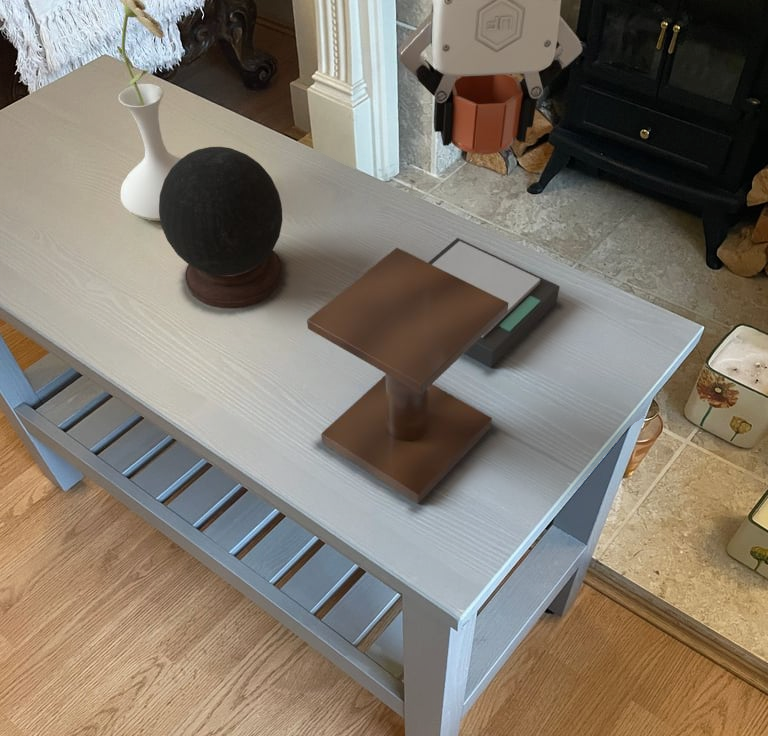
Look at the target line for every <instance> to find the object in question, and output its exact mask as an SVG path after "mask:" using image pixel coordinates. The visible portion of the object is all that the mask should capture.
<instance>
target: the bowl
mask: <svg viewBox="0 0 768 736" xmlns="http://www.w3.org/2000/svg"><path fill="white" fill-rule="evenodd" d="M451 96H452V100H453V104H454V109H453V124H452V139H451V144H452V145H453V146H454V147H456V148H457V149H459V150H461V151H463V152H465V153H466V152H467V153H468V154H469V153H470V154H474V155H492V154H498V153H501V152H503V151H506V150H507V149H509V148H510V147H511V146H512V145H513V144H514V142H515V139H516V137H517V133H518V126H519V118H520V111H521V103H522V96H523V91H522V88H521V85H520V79H519V78H518V77H517V76H515V75H513V74H506V75H484V76H458V78H457V80H456V82H455V84H454V86H453V88H452V91H451Z"/></svg>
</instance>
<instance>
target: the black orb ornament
mask: <svg viewBox="0 0 768 736" xmlns="http://www.w3.org/2000/svg"><path fill="white" fill-rule="evenodd" d="M181 158H182V159H181V160H179V161H178V162H177V163H176V164H175V165H174V166H173V167H172V168H171V170H170V171H169V173H168V175H167V176H166V178H165V180H164V183H163V186H162V189H161V192H160V198H159V216H160V222H159V223H160V225H161V228H162V231H163V234H164V236H165V238H166V241H167V242H168V244H169V245H170V246H171V248H172V249H173V251H174V252H175V253H176V255H177V256H178V257H179V258H181V259H182V260H183V261H184V262H185V263H187V266H186V269H185V275H184V276H185V282H186V286H187V289H188V291H189V292H190V294H191V295H192V296H193V297H194V298H195V299H196V300H197V301H199V302H201V303H203V304H205V305H208V306H210V307H215V308H221V309H236V308H237V309H238V308H244V307H248V306H251V305H254V304H256V303H259V302H261V301H263V300H264V299H266V298H268V297H269V296H270V295H271V294H273V293H274V292H275V291H276V290H277V288H279V286H280V284H281V281H282V278H283V267H282V261H281V259H280V256H278V254H277V253H276V251H274V249H275V246H276V244H277V242H278V241H279V238H280V237H281V230H282V225H283V205H282V201H281V197H280V193H279V190H278V189H277V186H276V184H275V183H274V180H273V178H272V176H271V175H270V174H269V173H268V171H267V170H266V169H265V168H264V167H263V166H262V165H261V164H260V163H259V162H258V161H256V160H255V159H254V158H253V157H251V156H250V155H248V154H246V153H244V152H242V151H239V150H237V149H234V148H231V147H227V146H208V147H204V148H198V149H195V150H193V151H191V152H189V153H187V154H186V155H184V156H183V157H181Z"/></svg>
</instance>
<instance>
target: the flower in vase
mask: <svg viewBox="0 0 768 736" xmlns="http://www.w3.org/2000/svg"><path fill="white" fill-rule="evenodd" d="M118 1H119V2H120V3H121V4H122V5H123V6H124V7H123V11H124V17H123V25H122V32H121V47H120V46H119V45H116V49H117V51H118V53H119V54H120V56H121V58H122V59H123V61H124V64H125V67H126V69H127V70H126V71H127V73H128V75H129V77H130V81H129V84H128V85H130V86H127V87H126V88H125V89H122V91H121V92H120V93H119V95H118V101H119V102H120V103H121V105H123V106H124V107H125V108H126V109H127V110H128V111H129V112H130V113H131V115H132V116H133V118H134V120H135V122H136V124H137V126H138V129H139V131H140V134H141V138H142V141H143V145H144V153H145V154H144V158H143V159H142V160H141V161H140V162H139V163H138V164H137V165H136V166H135V167H133V169H131V171H130V172H128V175H127V176H126V177H125V179H124V180H123V182H122V183H121V188H120V201H121V204H122V206H123V207H124V208H125V209H126V210H127V211H128V212H130V213H131V214H132V215H134V216H136V217H138V218H140V219H144V220H148V221H158V222H159V221H160V216H159V198H160V192H161V189H162V186H163V183H164V180H165V178H166V176H167V175H168V173H169V171H170V170H171V168H172V167H173V166H174V165H175V164H176V163H177V162H178V161H179V160H181V159H182V158H183V157H180V156H176V155H174V154H172V153H171V152H169V151H168V150H167V148H166V146H165V144H164V140H163V136H162V132H161V127H160V118H159V115H160V114H159V110H160V104H161V102H162V99H163V97H164V91H163V89H162V88H161V87H160V86H158V85H156V84H153V83H152V84H151V83H138V84H137V82H138V81H139V80H140V79H141V78H142V77H143V76H144V75H145V74H147V73H148V72H149V69H145V70H144V69H143V70H142V71H141V72H139V73H137V74H136V75H135V76H134V75H133V72H132V69H134V65H133V63H132V61H131V60H130V58H129V57H128V56H127V55H126V33H127V27H128V20H129V18H135V19H136V20H137V21H138V22H139V23H140V24H141V25H142V26H143V27H144V28H146V29H147V30H148V31H149V32H150V33H151V34H152V35H154V36H155V37H157V38H158V39H163V38H164V37H165V32H164V31H163V30H162V29H161V28H162V25H161V24H160V22H158V20H156V19H155V18H153V17H152V16H151V15H150V14H149V13H148V12H146V11H145V10H146V8H147V7H146V5H145V3H143V1H141V0H118ZM131 68H132V69H131Z"/></svg>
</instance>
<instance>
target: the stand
mask: <svg viewBox="0 0 768 736" xmlns="http://www.w3.org/2000/svg"><path fill="white" fill-rule="evenodd" d="M508 304H509V303H508V302H506V301H504V300H502V299H500V298H498V297H496V296H494V295H492V294H490V293H488V292H486V291H484V290H482V289H480V288H478V287H476V286H474V285H472V284H470V283H468V282H466V281H464V280H462V279H460V278H457V277H455V276H453V275H451V274H449V273H447V272H445V271H443V270H441V269H439V268H437V267H435V266H433V265H431V264H429V263H428V262H427V261H426V260H423V259H422V258H419V257H417V256H415V255H413V254H411V253H409V252H407V251H405V250H403V249H401V248H399V247H395V248H393V250H392V251H390V252H389V253H388V254H387V255H385V256H384V257H383V258H382V259H380V260H379V261H378V262H377V263H376V264H374V265H372V267H370V268H369V269H368V270H367V271H366V272H363V274H362V275H361V276H359V277H358V278H357V279H355V280H354V281H353V282H352V283H351V284H349V285H348V286H346V288H344V289H343V290H342V291H340V293H338V294H337V295H335V297H333V298H332V299H331V300H330V301H329V302H327V303H326V304H325V305H323V306H322V307H321V308H320V309H318V310H317V311H316V312H315V313H314V314H312V315H311V316H310V317H308V318H307V319H306V325H307V329H308V330H309V331H312V333H314V334H316V335H318V336H320V337H321V338H323V339H325V340H327V341H329V342H330V343H332V344H334V345H335V346H337V347H339V348H341V349H343V350H344V351H346V352H348V353H349V354H351V355H353V356H354V357H356V358H359V359H360V360H361V361H364V362H365V363H367V364H369V365H370V366H372V367H374V368H376V369H378V370H379V371H381V372H382V373H384V374H385V375H384V376H383V377H382V378H381V379H379V380H378V381H377V382H376V383H375V384H374V385H373V386H372V387H371V388H369V390H367V391H366V392H365V393H364V394H363V395H362V396H361V397H360V398H358V399H357V400H356V401H355V402H354V403H353V404H352V405H351V406H350V407H349V408H348V409H346V410H345V412H343V413H342V414H341V415H340V416H339V417H337V419H336V420H335V421H333V422H332V423H331V424H330V425H329V426H327V428H325V429H324V430H323V431H322V432H321V433H320V436H321V443H322V445H324V446H325V447H327V448H329V449H331V451H333V452H335V453H337V454H338V455H340V456H342V457H343V458H344V459H346V460H348V461H349V462H351V463H352V464H354V465H355V466H357V467H359V468H360V469H362V470H364V471H365V472H367V473H368V474H369V475H371V476H373V477H375V478H376V479H377V480H379V481H380V482H382V483H383V484H385V485H387V486H388V487H390V488H391V489H393V490H395V491H396V492H397V493H399V494H401V495H403V496H404V497H406V498H407V499H409V500H411V501H412V502H413V503H415V504H417V505H418V504H420V503H421V502H422V501H423V500H424V499H425V498H426V496H428V495H429V494H430V493H431V491H432V490H433V489H434V488H435V487H436V486H437V485H438V484H439V483H440V482H441V481H442V480H443V478H445V477H446V476H447V475H448V473H449V472H450V471H451V470H452V469H453V468H454V467H455V466H456V465H457V464H458V463H459V462H460V461H461V460H462V459H463V458H464V456H465V455H466V454H467V453H468V452H470V451H471V449H472V448H473V447H474V446H475V445H476V444H477V443H478V442H479V441H480V439H482V438H483V436H485V435H486V434H487V432H488V431H489V430H490V429H491V428H492V421H493V418H492V417H491V416H489V415H488V414H486V413H484V412H482V411H481V410H479V409H477V408H475V407H474V406H472V405H470V404H468V403H466V402H465V401H463V400H460V399H459V398H457V397H456V396H454V395H452V394H450V393H449V392H447V391H445V390H443V389H442V388H439V387H438V386H436V385H434V383H435V382H436V381H437V380H438V379H439V378H440V377H441V376H442V375H444V373H445V372H446V371H447V370H448V369H449V368H451V366H452V365H454V363H455V362H457V361H458V360H460V358H461V357H462V356H463V355H464V353H465V352H466V351H467V350H468V349H469V348H470V347H471V346H472V345H473V344H474V343H475V342H476V341H477V340H478V339H479V338H480V337H482V336H483V335H484V334H485V333H486V332H487V331H488V330H489V329H490V328H491V327H492V326H493V325H494V324H495V323H496V322H497V321H498V320H499V319H500V318H501V317H502V316H503V315H505V314H506V313H507V311H508Z"/></svg>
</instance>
